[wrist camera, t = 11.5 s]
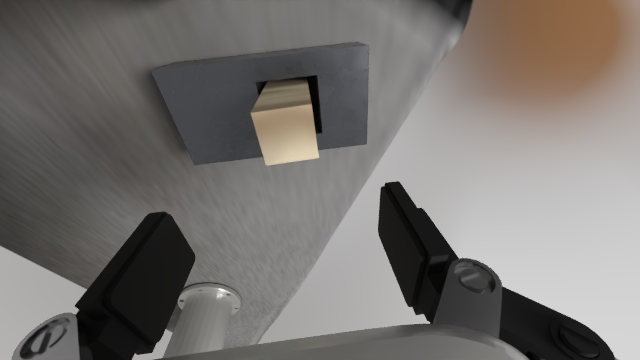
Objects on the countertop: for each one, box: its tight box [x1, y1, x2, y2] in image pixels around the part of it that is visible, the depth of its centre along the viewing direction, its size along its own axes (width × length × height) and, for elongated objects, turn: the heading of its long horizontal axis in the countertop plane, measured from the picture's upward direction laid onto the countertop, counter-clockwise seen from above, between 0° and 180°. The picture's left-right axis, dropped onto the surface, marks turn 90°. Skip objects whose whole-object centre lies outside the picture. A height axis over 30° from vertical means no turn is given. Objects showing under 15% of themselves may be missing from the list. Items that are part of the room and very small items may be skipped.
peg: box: [251, 76, 319, 166], centre depth 23 cm, size 4×4×12 cm
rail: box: [151, 42, 369, 165], centre depth 26 cm, size 10×20×5 cm, turn 95°
